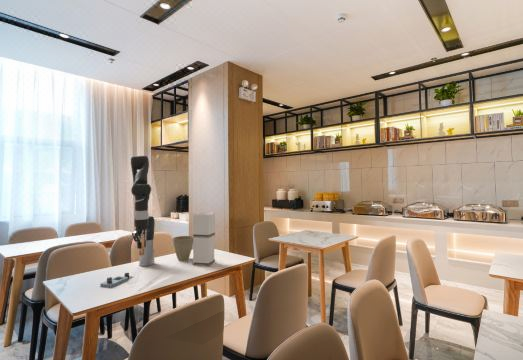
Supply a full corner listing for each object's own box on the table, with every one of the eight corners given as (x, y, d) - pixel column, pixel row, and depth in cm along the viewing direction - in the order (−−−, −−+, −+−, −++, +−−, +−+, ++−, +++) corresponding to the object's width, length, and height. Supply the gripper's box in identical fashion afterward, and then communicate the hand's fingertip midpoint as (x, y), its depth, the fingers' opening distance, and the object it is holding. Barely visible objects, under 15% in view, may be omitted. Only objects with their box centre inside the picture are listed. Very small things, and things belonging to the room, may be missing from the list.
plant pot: (168, 261, 207) (168, 239, 207) (180, 256, 221) (180, 235, 222) (186, 263, 203) (186, 240, 203) (197, 257, 217) (197, 236, 217)
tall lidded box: (214, 262, 205) (214, 212, 205) (208, 266, 194) (208, 214, 195) (200, 261, 208) (200, 212, 208) (193, 265, 197) (193, 214, 197)
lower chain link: (124, 278, 171) (124, 271, 171) (134, 279, 169) (134, 272, 169) (108, 285, 159) (108, 278, 159) (118, 286, 157) (118, 279, 157)
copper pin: (141, 253, 170) (141, 233, 170) (145, 254, 169) (145, 233, 169) (137, 255, 167) (137, 234, 167) (142, 255, 166) (142, 234, 166)
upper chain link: (111, 290, 152) (111, 280, 152) (100, 289, 154) (100, 278, 154) (128, 282, 164) (128, 272, 164) (117, 281, 166) (118, 271, 166)
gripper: (143, 216, 176) (144, 244, 176) (127, 219, 162) (127, 250, 162) (154, 216, 174) (154, 245, 174) (138, 220, 160) (138, 251, 160)
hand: (141, 247), depth 168 cm, fingers closed on copper pin, 3 cm apart
